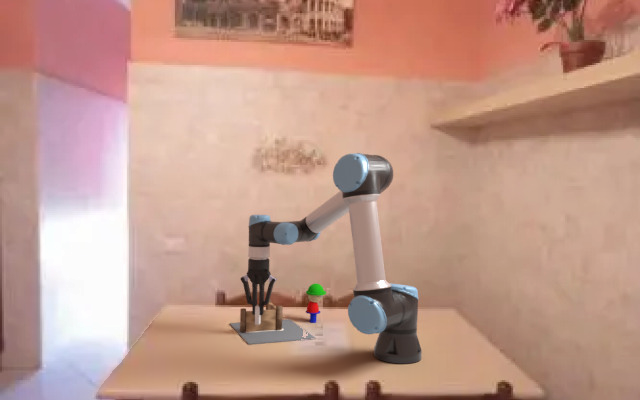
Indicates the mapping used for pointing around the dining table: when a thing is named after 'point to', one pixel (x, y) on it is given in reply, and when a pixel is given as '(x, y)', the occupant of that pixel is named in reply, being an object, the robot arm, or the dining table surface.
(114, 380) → the dining table surface
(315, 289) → the toy
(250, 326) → the fence panel
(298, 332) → the mat
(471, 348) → the dining table surface
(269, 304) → the fence fixed
